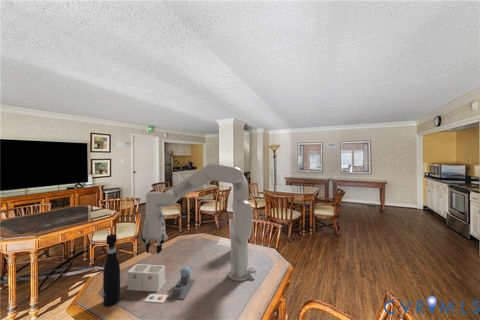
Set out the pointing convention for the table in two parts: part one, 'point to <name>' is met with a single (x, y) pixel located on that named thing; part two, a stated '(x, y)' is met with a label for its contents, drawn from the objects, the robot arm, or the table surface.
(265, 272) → the table surface
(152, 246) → the terracotta ball
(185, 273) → the slate ball
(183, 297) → the ball stand
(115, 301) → the wine bottle
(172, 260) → the table surface
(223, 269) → the table surface
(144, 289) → the two-slot cubby shelf
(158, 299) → the card
